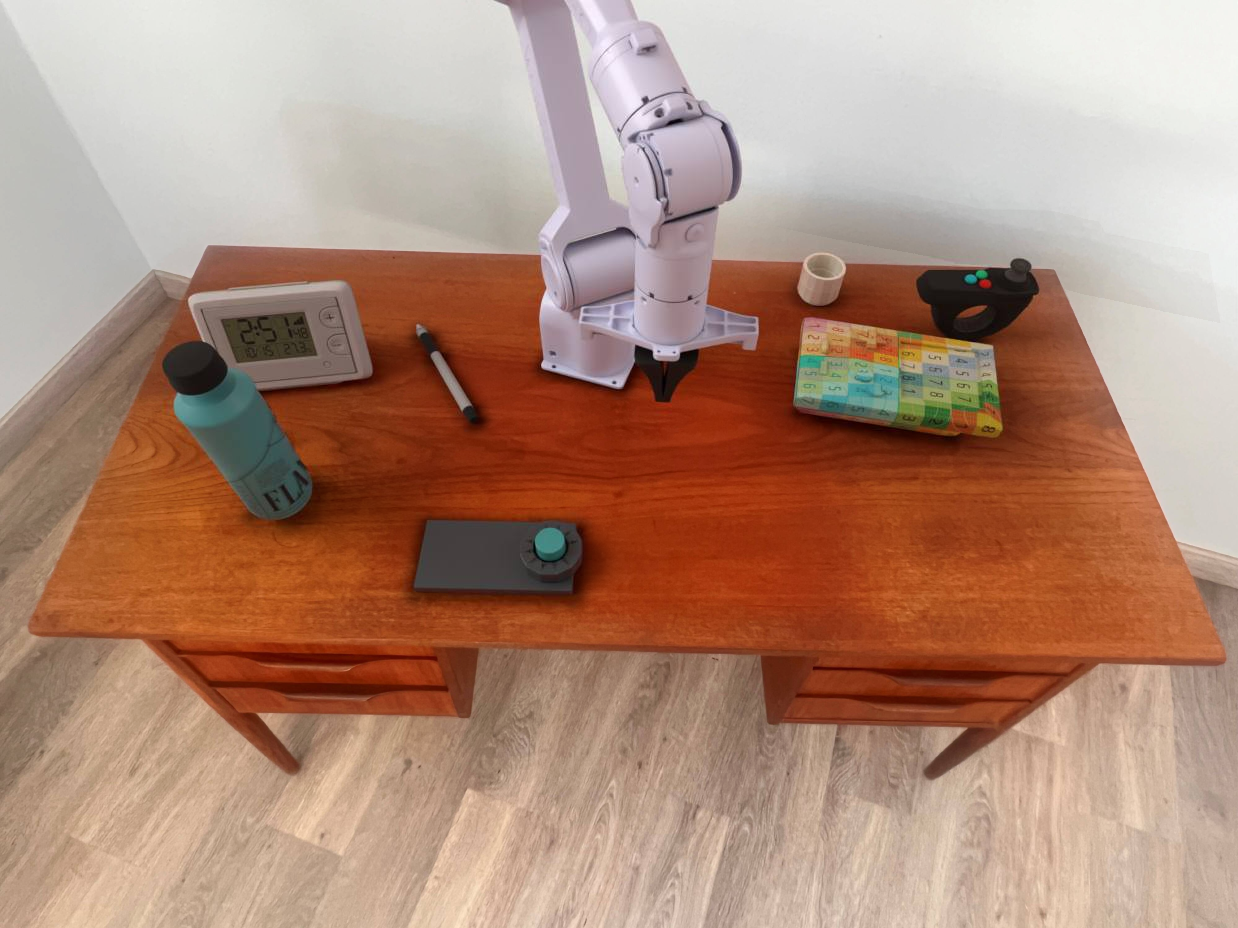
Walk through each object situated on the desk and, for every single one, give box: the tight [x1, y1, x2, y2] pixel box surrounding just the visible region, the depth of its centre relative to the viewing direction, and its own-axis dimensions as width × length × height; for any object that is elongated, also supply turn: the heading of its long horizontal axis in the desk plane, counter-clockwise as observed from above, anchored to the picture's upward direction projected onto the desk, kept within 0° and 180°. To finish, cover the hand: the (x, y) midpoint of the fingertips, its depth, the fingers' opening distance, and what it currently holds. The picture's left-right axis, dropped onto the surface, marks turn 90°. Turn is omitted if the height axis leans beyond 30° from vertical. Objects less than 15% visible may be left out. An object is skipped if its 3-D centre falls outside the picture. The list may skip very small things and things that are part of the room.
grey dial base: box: [413, 519, 584, 596], centre depth 67 cm, size 15×7×2 cm, turn 89°
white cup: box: [796, 252, 847, 307], centre depth 87 cm, size 5×5×4 cm
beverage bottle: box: [161, 340, 314, 521], centre depth 63 cm, size 6×7×20 cm
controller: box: [915, 257, 1040, 341], centre depth 81 cm, size 4×12×10 cm, turn 88°
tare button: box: [535, 528, 566, 561], centre depth 65 cm, size 3×3×2 cm
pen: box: [415, 323, 479, 424], centre depth 81 cm, size 1×16×1 cm, turn 30°
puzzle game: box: [792, 317, 1004, 439], centre depth 77 cm, size 12×5×20 cm
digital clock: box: [187, 279, 374, 392], centre depth 77 cm, size 16×9×11 cm, turn 86°
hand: (663, 394), depth 68 cm, fingers closed
